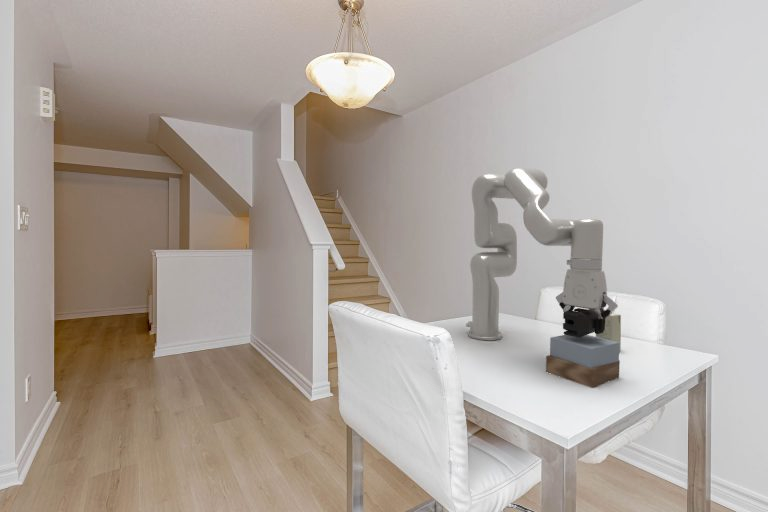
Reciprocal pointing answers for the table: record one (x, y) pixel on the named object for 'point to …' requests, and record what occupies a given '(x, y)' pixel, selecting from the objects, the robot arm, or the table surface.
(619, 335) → the skincare box
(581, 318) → the end cap
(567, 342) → the slate top block
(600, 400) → the table surface
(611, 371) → the walnut base block
